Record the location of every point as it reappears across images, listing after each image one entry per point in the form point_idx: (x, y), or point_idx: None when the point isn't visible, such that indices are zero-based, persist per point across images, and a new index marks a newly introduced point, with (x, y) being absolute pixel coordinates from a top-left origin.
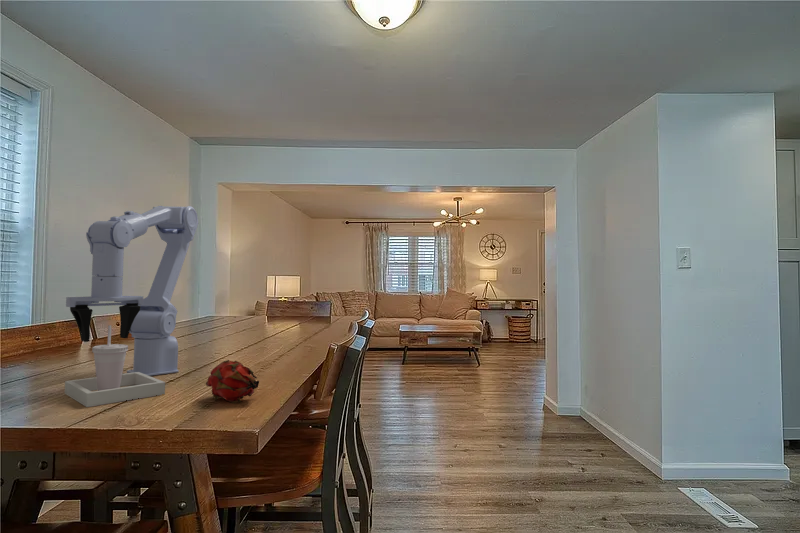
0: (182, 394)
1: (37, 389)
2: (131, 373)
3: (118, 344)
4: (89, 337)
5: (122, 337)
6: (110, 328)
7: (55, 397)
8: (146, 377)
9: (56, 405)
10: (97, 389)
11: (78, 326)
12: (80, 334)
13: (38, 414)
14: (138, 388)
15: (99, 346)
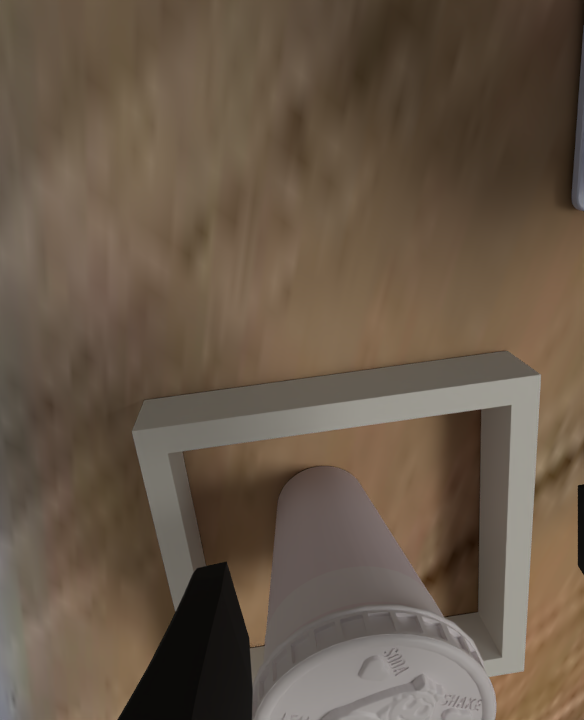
0: (547, 652)
1: (6, 204)
2: (489, 405)
3: (458, 662)
4: (250, 683)
5: (580, 529)
6: None
7: (103, 459)
8: (505, 546)
9: (106, 597)
10: (276, 517)
11: (130, 712)
12: (174, 617)
13: (48, 684)
14: None
15: (310, 691)
